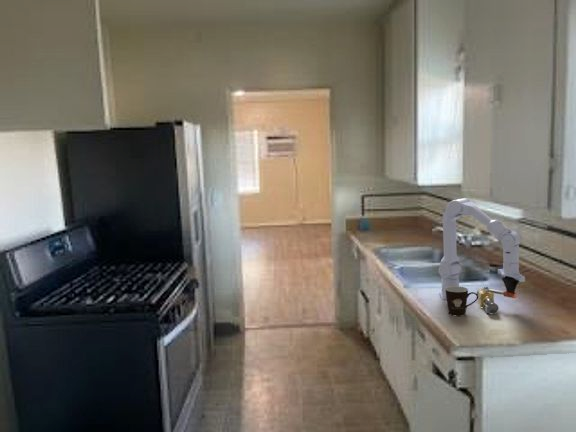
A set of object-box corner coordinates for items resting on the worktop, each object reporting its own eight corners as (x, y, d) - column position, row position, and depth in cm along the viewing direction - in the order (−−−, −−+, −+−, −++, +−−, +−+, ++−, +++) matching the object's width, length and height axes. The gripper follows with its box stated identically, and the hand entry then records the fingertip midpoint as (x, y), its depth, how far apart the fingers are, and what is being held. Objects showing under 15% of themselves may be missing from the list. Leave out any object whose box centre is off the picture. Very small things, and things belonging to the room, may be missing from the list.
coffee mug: (442, 314, 205) (441, 290, 203) (450, 308, 211) (449, 285, 210) (471, 319, 198) (471, 294, 196) (478, 313, 204) (478, 288, 203)
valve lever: (481, 292, 212) (481, 287, 212) (484, 290, 214) (484, 286, 214) (514, 298, 202) (514, 293, 201) (517, 296, 203) (517, 292, 203)
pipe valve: (475, 300, 221) (475, 286, 220) (487, 300, 220) (487, 286, 220) (486, 315, 201) (486, 300, 200) (500, 315, 200) (500, 300, 200)
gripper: (491, 259, 211) (491, 291, 213) (513, 266, 197) (513, 301, 199) (506, 257, 213) (506, 289, 214) (529, 265, 199) (529, 299, 200)
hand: (510, 295), depth 207 cm, fingers closed
